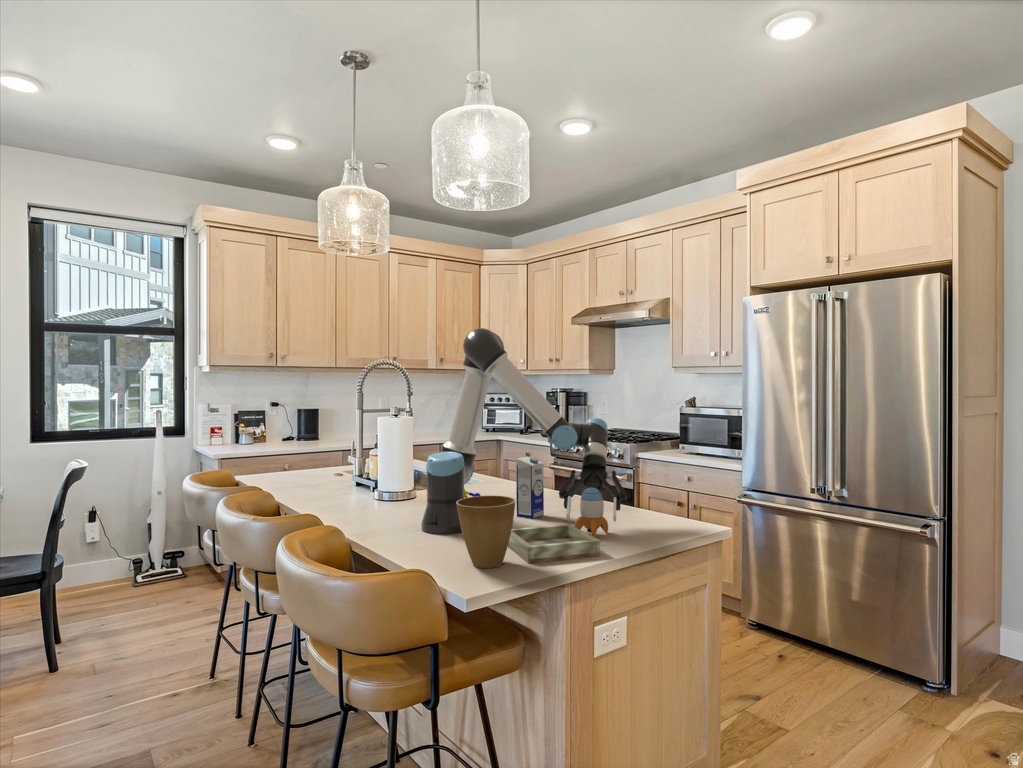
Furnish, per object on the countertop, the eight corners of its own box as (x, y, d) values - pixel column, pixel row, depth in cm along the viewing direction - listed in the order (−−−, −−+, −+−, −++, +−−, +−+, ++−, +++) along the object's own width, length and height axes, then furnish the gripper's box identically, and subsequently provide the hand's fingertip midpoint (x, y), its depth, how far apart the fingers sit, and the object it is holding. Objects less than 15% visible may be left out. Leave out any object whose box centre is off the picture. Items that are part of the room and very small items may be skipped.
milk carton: (527, 513, 212) (527, 456, 212) (544, 515, 208) (543, 457, 208) (516, 516, 206) (515, 458, 206) (532, 519, 202) (532, 459, 202)
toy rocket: (606, 534, 185) (614, 487, 182) (608, 549, 175) (616, 500, 172) (573, 528, 186) (580, 482, 183) (573, 543, 175) (580, 495, 173)
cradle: (528, 563, 152) (527, 547, 152) (504, 543, 171) (504, 529, 171) (600, 555, 158) (600, 540, 158) (569, 537, 177) (569, 524, 177)
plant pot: (489, 552, 162) (488, 492, 162) (528, 564, 151) (527, 500, 151) (444, 564, 152) (444, 500, 152) (483, 577, 141) (482, 508, 141)
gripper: (634, 468, 192) (634, 526, 177) (556, 466, 197) (550, 523, 182) (634, 453, 187) (634, 512, 172) (554, 452, 192) (547, 509, 177)
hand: (591, 518), depth 177 cm, fingers open, 13 cm apart
